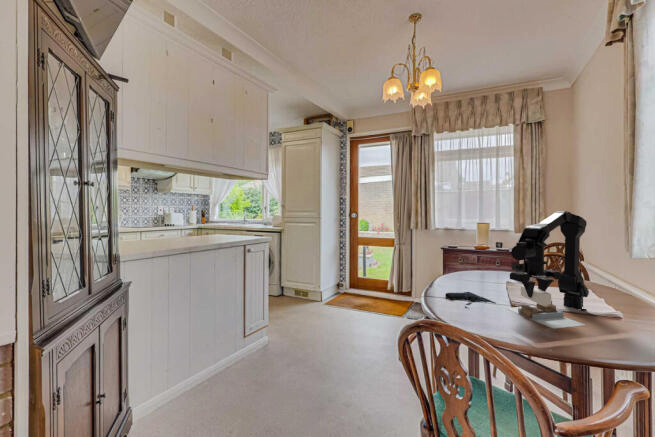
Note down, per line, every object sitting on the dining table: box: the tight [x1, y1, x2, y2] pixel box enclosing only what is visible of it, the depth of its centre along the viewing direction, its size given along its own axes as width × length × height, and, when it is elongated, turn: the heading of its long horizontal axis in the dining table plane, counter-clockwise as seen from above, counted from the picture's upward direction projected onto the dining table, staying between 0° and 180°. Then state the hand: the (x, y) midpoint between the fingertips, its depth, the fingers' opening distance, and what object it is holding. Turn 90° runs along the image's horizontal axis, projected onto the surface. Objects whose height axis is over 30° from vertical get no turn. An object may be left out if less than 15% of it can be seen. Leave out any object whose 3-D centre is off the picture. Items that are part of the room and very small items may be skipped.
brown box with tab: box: [520, 300, 557, 319], centre depth 119 cm, size 12×4×6 cm, turn 100°
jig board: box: [505, 305, 585, 330], centre depth 118 cm, size 14×22×3 cm, turn 10°
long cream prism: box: [520, 285, 552, 305], centre depth 118 cm, size 4×12×4 cm, turn 178°
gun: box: [445, 291, 497, 310], centre depth 139 cm, size 24×3×15 cm
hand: (535, 297), depth 118 cm, fingers closed on long cream prism, 4 cm apart
